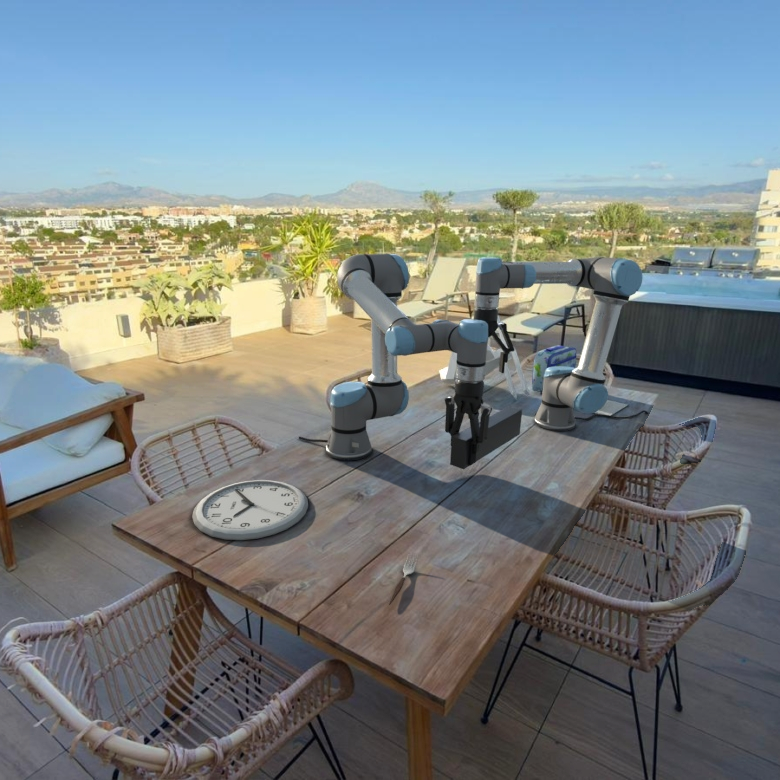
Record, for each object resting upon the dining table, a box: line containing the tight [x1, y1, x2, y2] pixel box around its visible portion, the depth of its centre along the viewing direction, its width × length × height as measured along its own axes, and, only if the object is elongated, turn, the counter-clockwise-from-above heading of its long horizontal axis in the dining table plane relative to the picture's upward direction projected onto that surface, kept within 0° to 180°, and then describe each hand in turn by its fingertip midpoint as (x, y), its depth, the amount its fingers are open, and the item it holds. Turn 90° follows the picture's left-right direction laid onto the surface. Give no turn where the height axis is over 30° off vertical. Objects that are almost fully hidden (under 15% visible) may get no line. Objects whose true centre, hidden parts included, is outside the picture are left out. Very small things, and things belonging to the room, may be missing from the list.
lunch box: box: [531, 345, 577, 393], centre depth 245 cm, size 26×11×21 cm, turn 134°
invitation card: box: [594, 399, 629, 416], centre depth 226 cm, size 21×1×15 cm
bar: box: [449, 405, 523, 470], centre depth 152 cm, size 33×4×8 cm, turn 140°
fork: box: [388, 554, 419, 606], centre depth 112 cm, size 3×16×2 cm, turn 160°
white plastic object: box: [438, 315, 531, 400], centre depth 245 cm, size 37×45×31 cm
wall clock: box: [191, 479, 309, 541], centre depth 140 cm, size 30×2×30 cm
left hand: (463, 460), depth 144 cm, fingers closed on bar, 4 cm apart
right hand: (481, 372), depth 172 cm, fingers open, 13 cm apart
